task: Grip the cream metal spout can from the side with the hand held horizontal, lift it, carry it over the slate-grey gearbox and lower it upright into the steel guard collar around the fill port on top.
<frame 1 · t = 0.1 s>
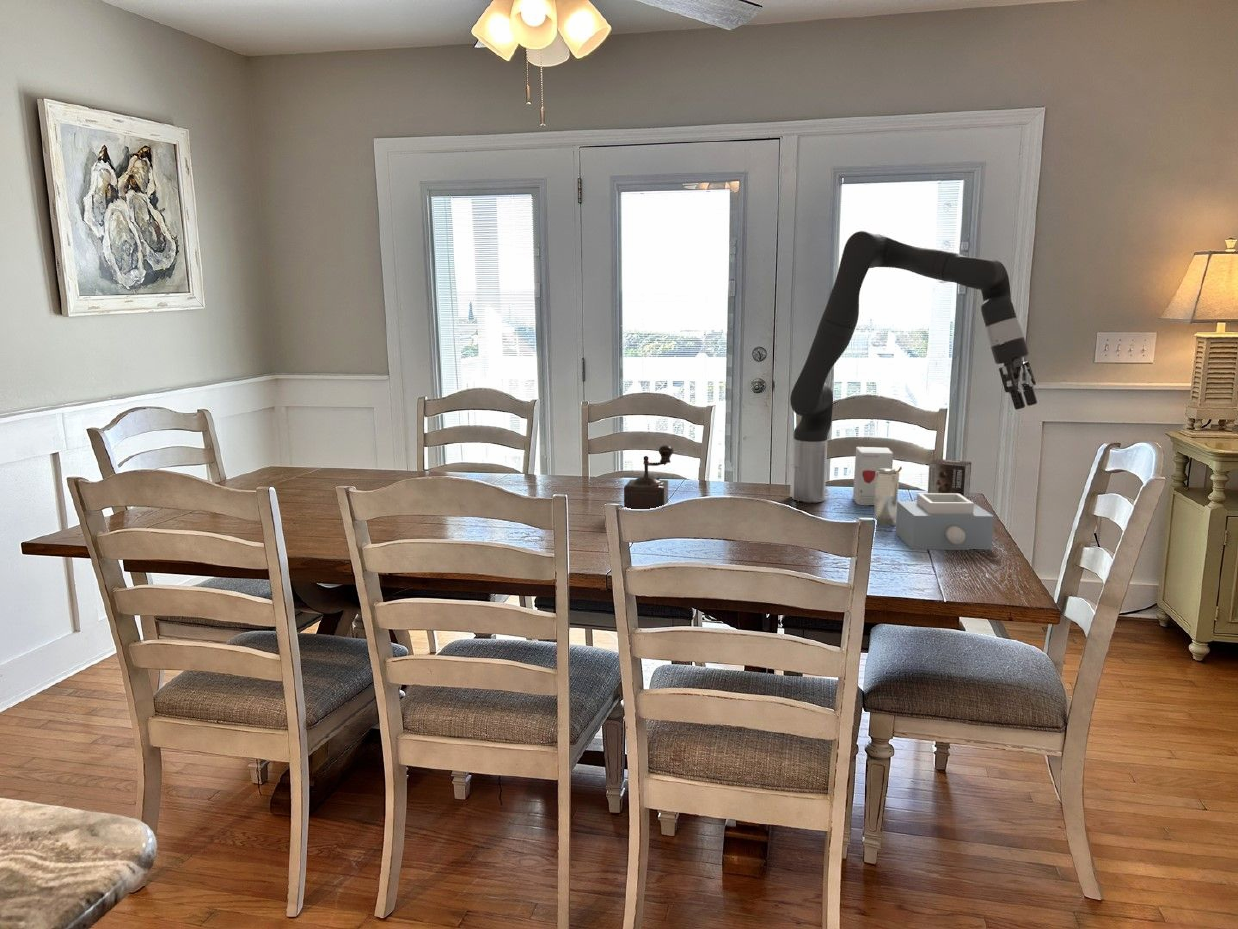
hand: (1026, 406, 216), 31 cm above the table, tool tilted 20°, fingers open, 8 cm apart
spout can: (884, 522, 234), on the table
gearbox: (941, 541, 217), on the table
manual coffee grinder: (649, 517, 240), on the table
coffee box: (946, 525, 233), on the table
supplement box: (871, 503, 255), on the table
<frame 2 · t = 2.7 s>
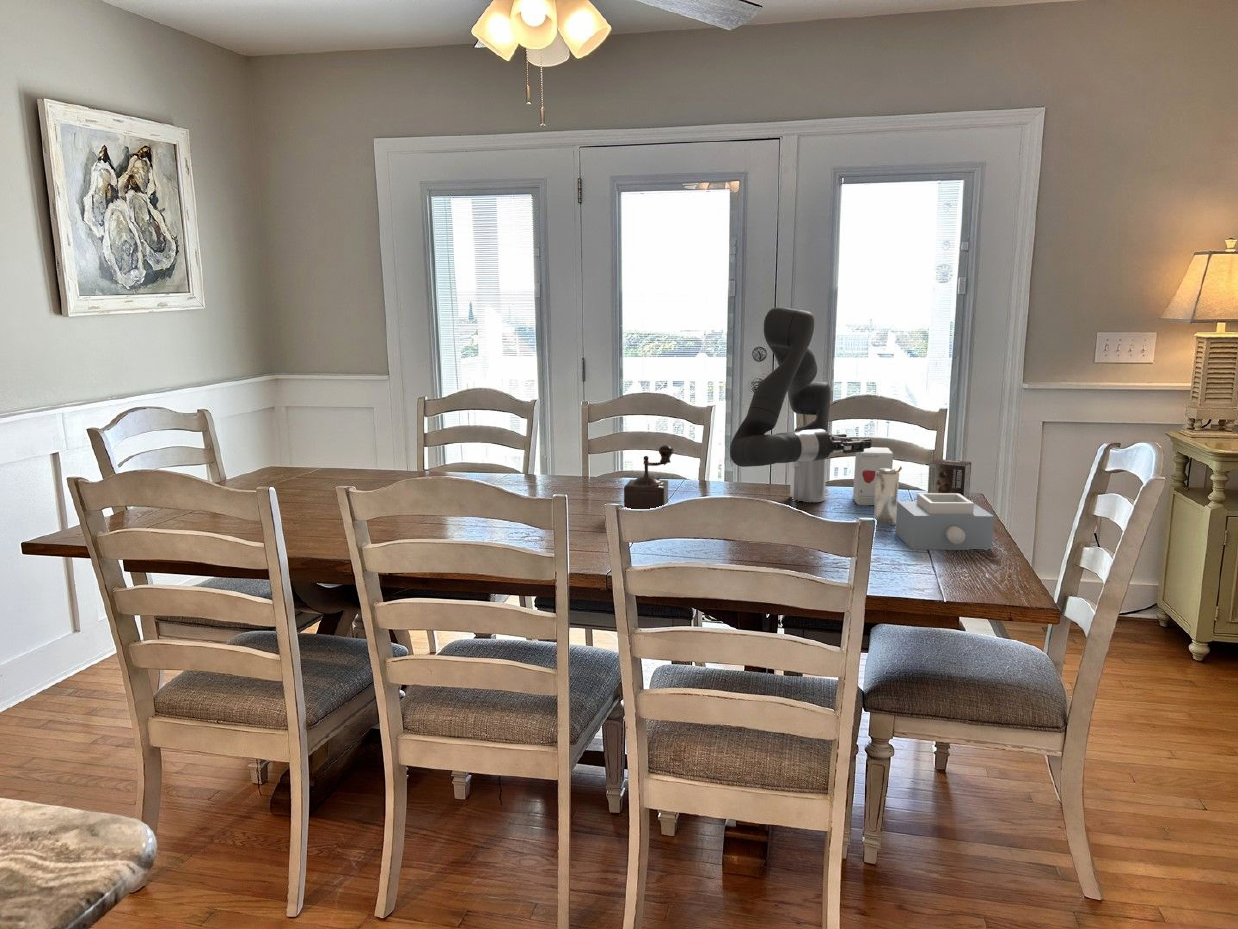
hand: (857, 440, 224), 22 cm above the table, tool horizontal, fingers open, 8 cm apart
nothing on the table moved.
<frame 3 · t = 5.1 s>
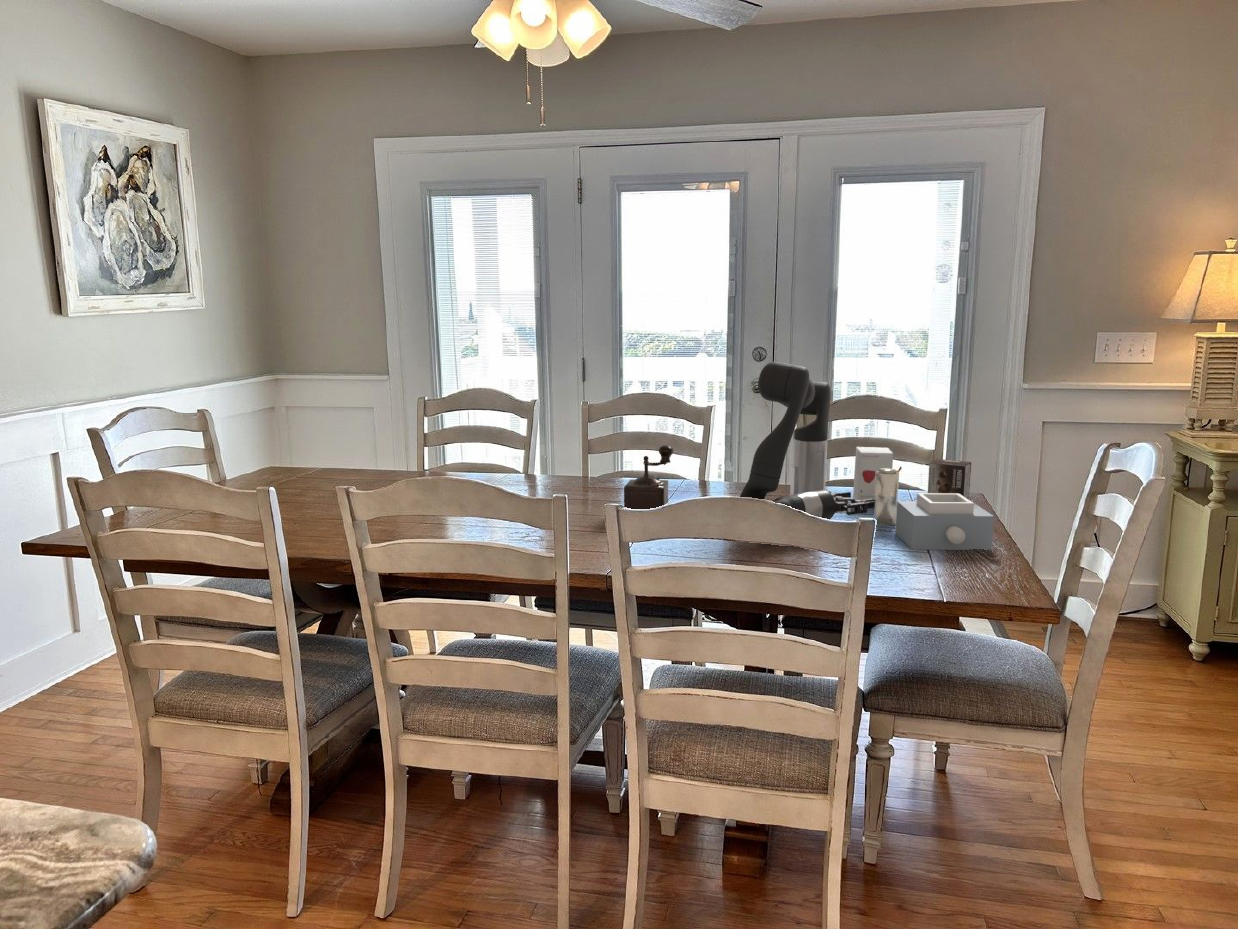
hand: (861, 499, 229), 7 cm above the table, tool horizontal, fingers open, 8 cm apart
nothing on the table moved.
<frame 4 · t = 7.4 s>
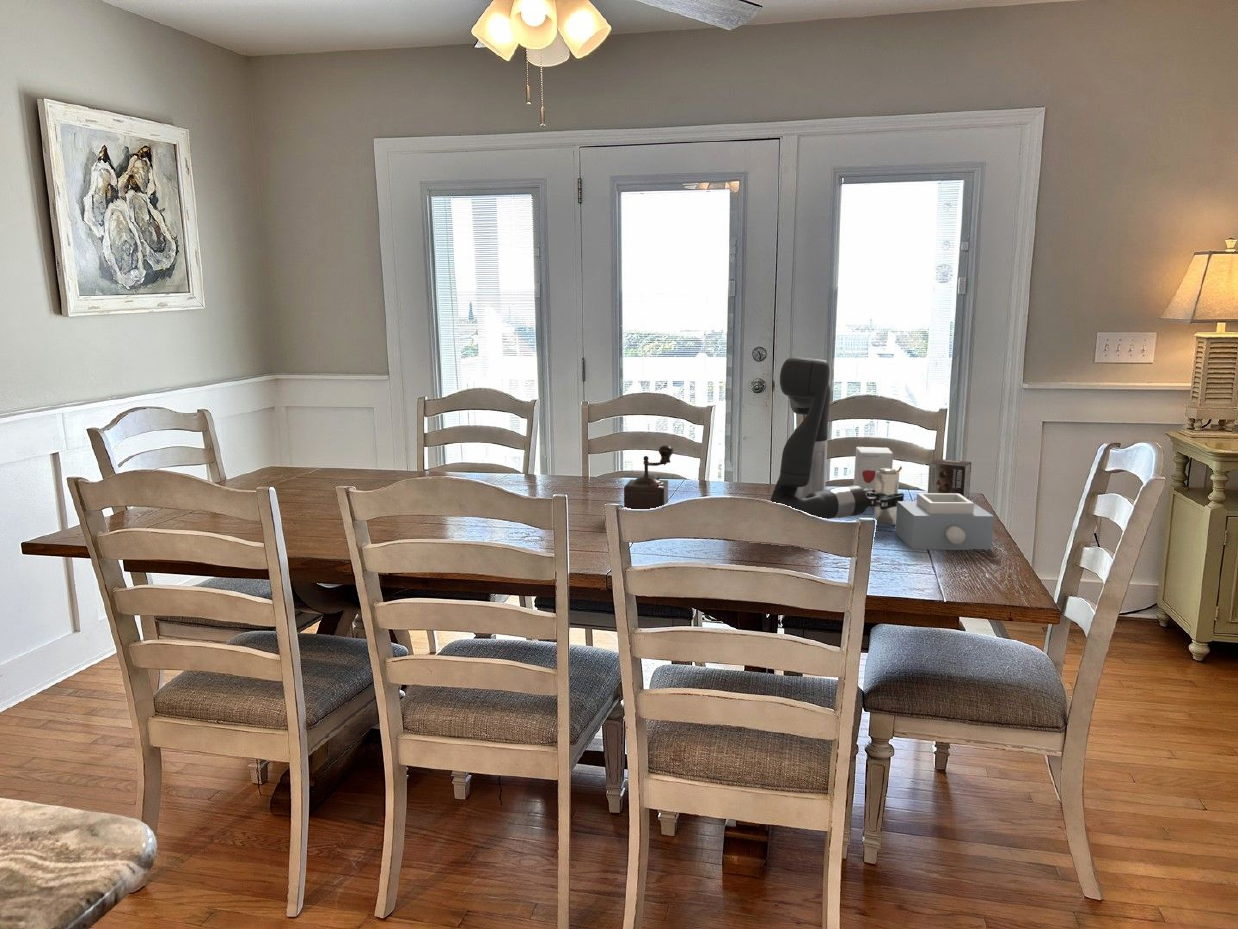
hand: (893, 494, 234), 7 cm above the table, tool horizontal, fingers closed on spout can, 5 cm apart
spout can: (884, 522, 234), on the table, touching gripper
everything else where it was.
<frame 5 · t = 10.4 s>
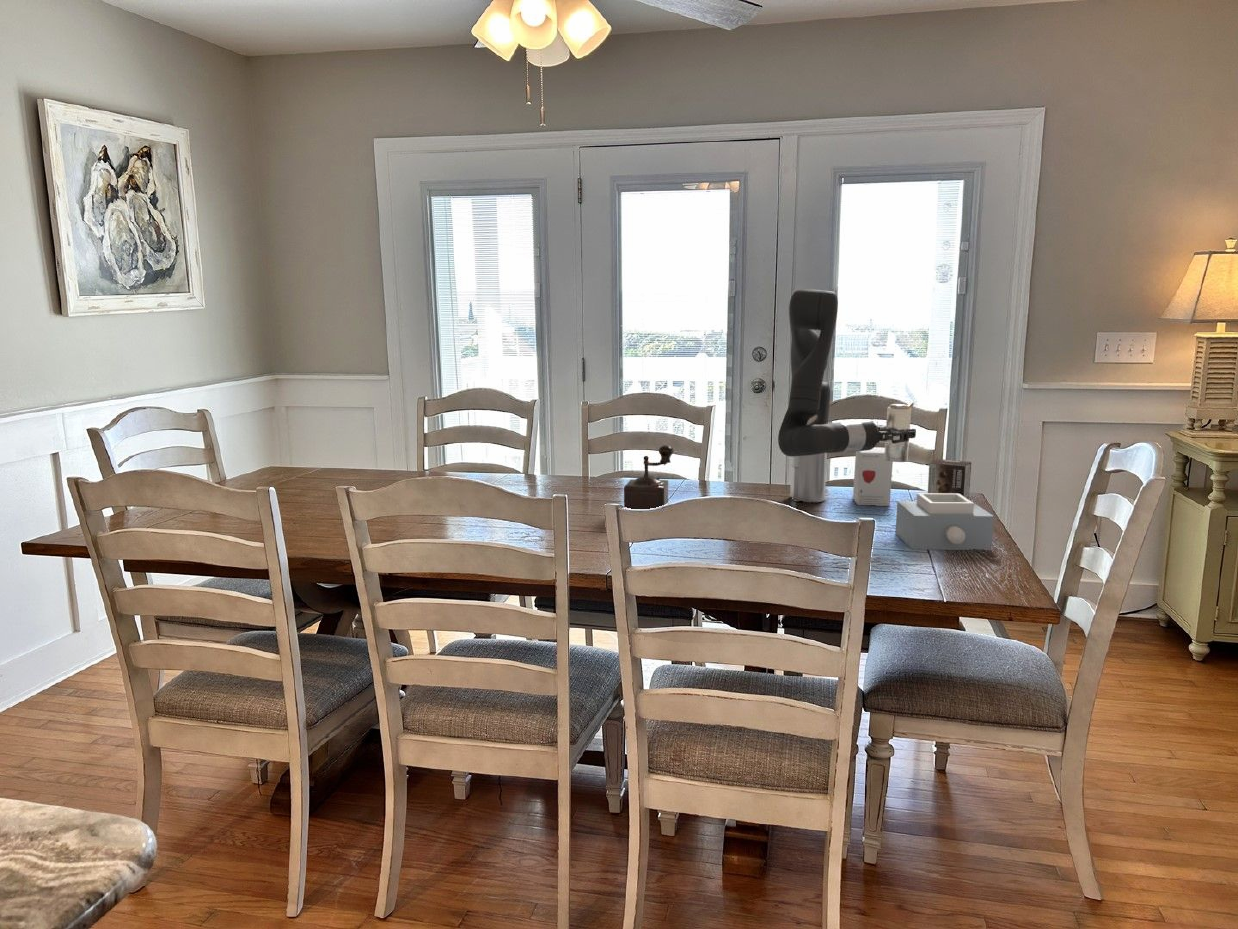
hand: (905, 431, 228), 24 cm above the table, tool horizontal, fingers closed on spout can, 5 cm apart
spout can: (895, 459, 228), point 17 cm above the table, touching gripper
everything else where it was.
when the fingers open (16 cm above the table, at t = 13.8 s): spout can drops 1 cm, resting on gearbox.
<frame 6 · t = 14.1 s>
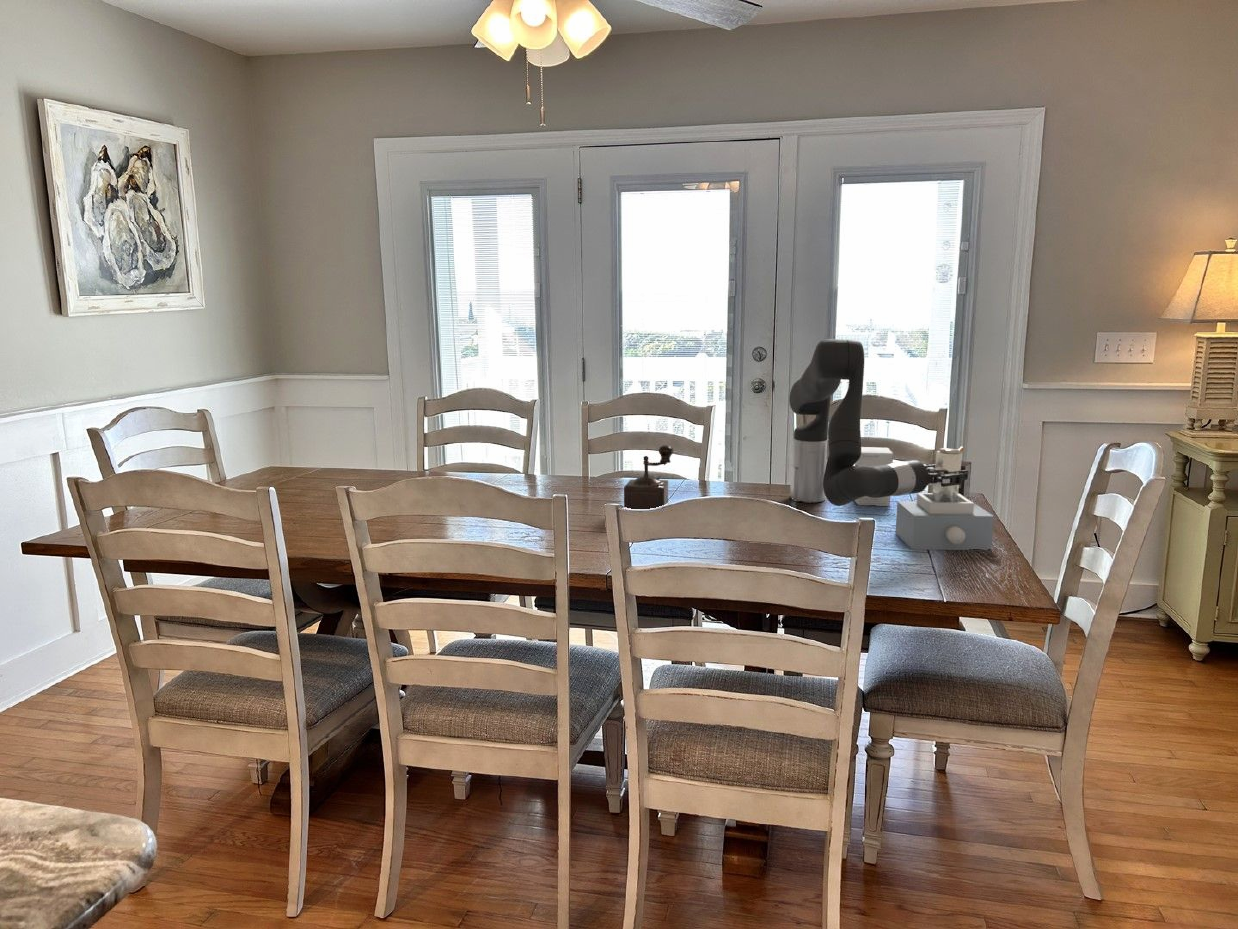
hand: (952, 471, 215), 17 cm above the table, tool horizontal, fingers open, 8 cm apart
spout can: (943, 507, 215), point 8 cm above the table, touching gearbox
everything else where it was.
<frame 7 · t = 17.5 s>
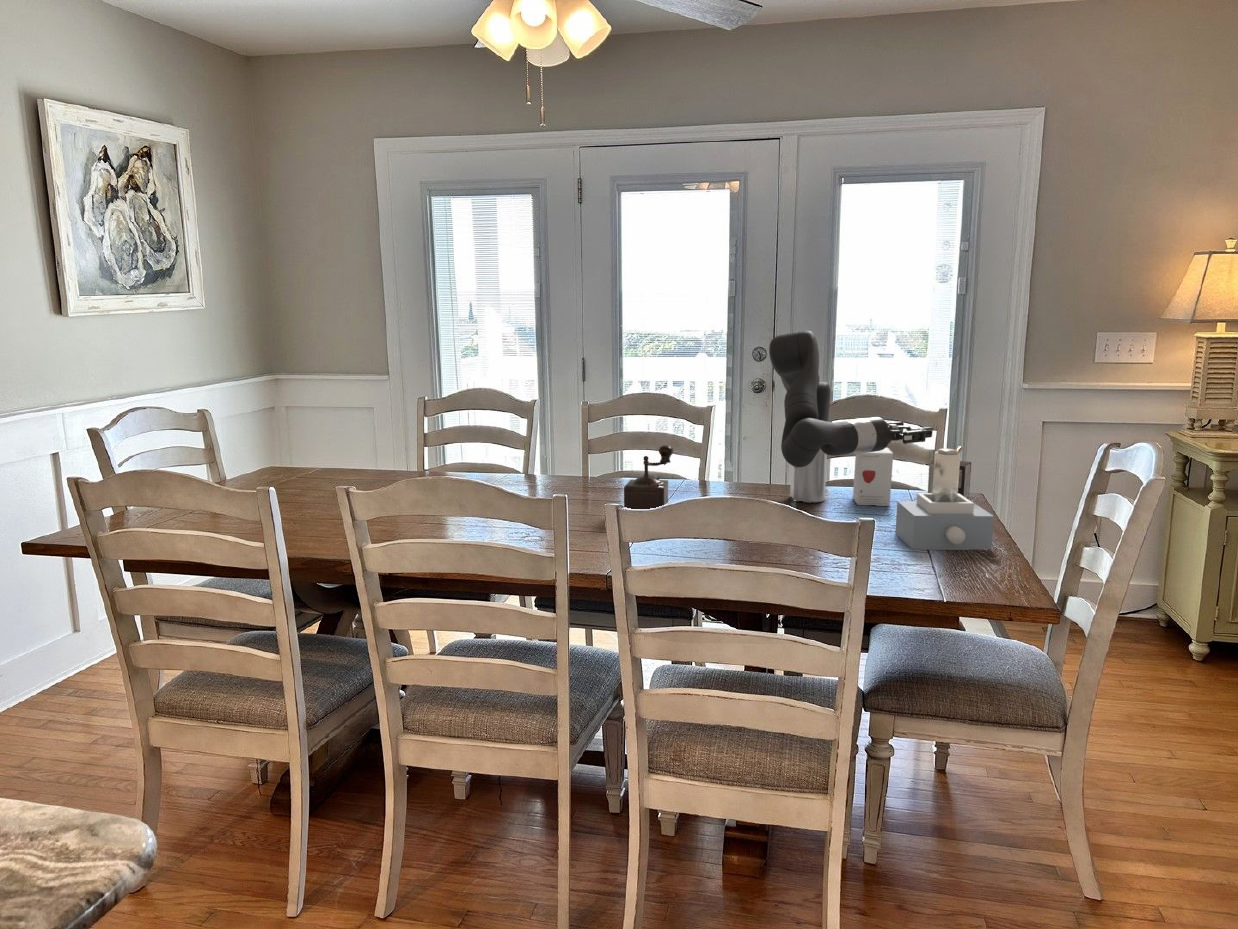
hand: (916, 429, 206), 28 cm above the table, tool horizontal, fingers open, 8 cm apart
nothing on the table moved.
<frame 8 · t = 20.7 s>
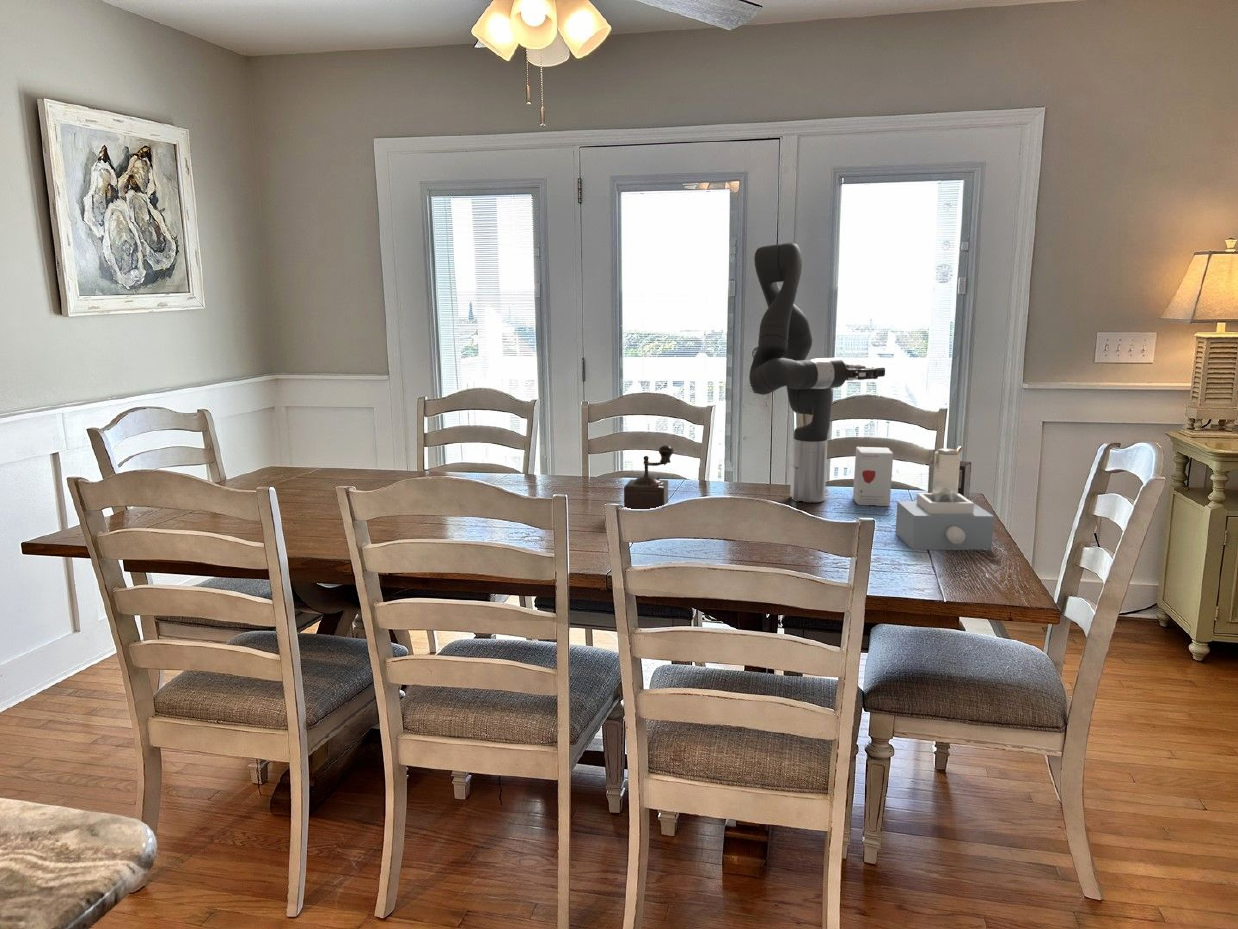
hand: (871, 370, 234), 38 cm above the table, tool horizontal, fingers open, 8 cm apart
nothing on the table moved.
at the end: spout can 0.1 cm off-centre on the gearbox, point 8.2 cm above the gearbox's base; spout can tilted 0°; the gripper is holding nothing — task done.
